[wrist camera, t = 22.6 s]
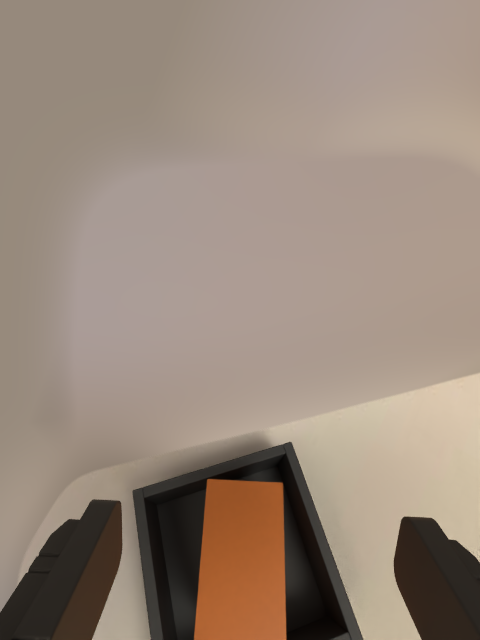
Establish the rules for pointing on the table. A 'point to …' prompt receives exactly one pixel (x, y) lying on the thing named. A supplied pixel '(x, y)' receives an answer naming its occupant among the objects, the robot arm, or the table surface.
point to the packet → (242, 563)
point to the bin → (186, 542)
